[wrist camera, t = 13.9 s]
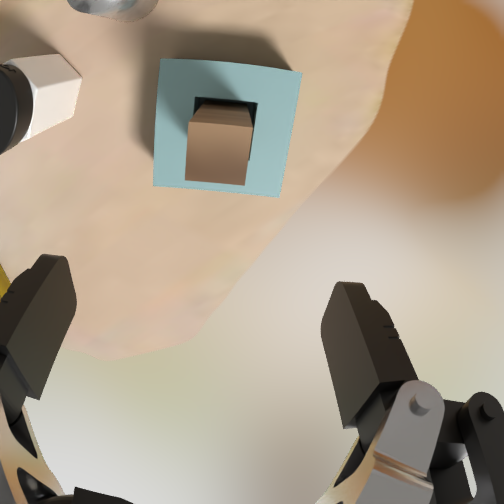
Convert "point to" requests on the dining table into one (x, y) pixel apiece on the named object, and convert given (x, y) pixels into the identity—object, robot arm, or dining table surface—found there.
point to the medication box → (3, 283)
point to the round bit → (115, 8)
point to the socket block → (229, 90)
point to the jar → (35, 96)
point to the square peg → (219, 143)
